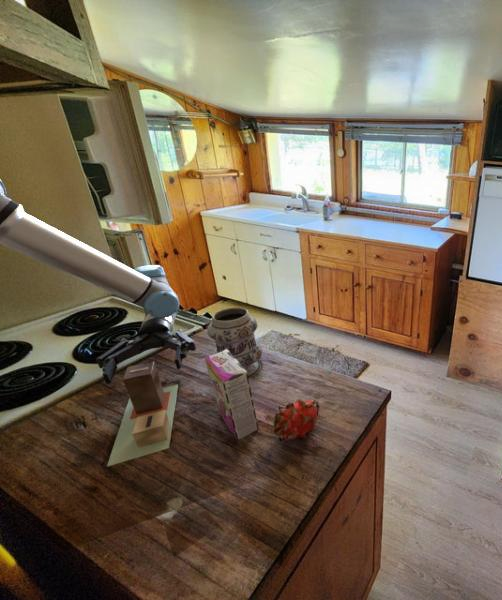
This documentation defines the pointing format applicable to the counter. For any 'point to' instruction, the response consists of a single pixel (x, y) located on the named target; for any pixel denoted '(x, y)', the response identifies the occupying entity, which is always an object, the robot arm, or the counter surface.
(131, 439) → the word mat
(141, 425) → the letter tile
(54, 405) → the counter surface
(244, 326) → the apothecary jar
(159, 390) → the brown rectangular block
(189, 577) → the counter surface
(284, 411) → the dragon fruit
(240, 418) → the candy bar box
